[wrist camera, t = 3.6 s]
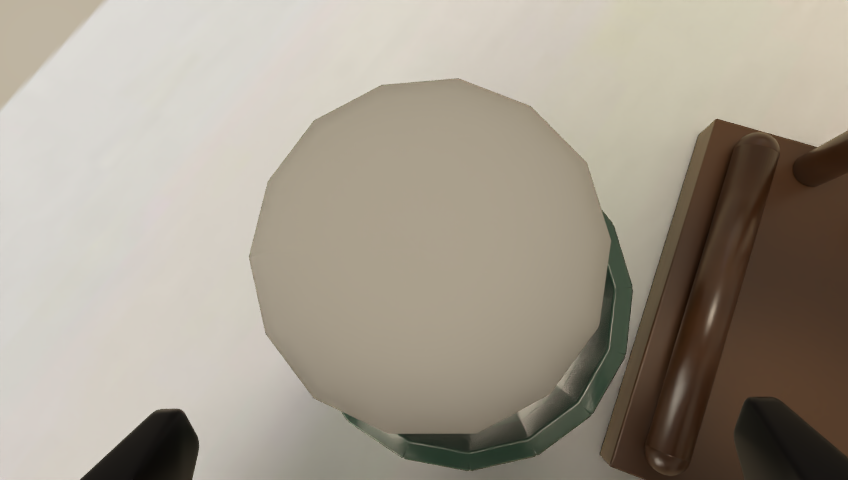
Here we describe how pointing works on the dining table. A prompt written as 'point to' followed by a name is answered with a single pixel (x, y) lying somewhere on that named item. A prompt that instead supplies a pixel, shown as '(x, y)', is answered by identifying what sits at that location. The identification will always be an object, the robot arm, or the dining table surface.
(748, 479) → the robot arm
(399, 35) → the dining table surface
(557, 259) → the salt shaker
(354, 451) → the dining table surface
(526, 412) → the holder
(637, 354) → the rack
